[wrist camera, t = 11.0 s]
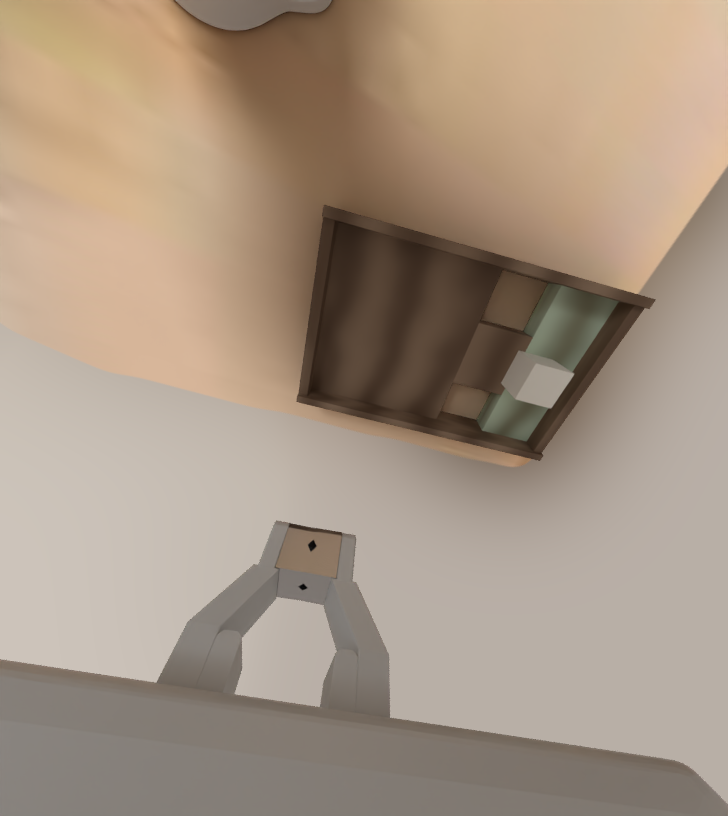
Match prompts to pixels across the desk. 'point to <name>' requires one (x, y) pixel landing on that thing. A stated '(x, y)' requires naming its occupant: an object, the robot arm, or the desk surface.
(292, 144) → the desk surface
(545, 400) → the block
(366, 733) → the robot arm
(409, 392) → the dark brown rimmed tray
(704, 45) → the desk surface
